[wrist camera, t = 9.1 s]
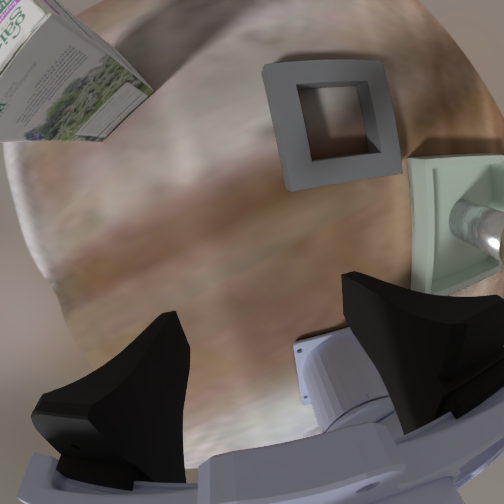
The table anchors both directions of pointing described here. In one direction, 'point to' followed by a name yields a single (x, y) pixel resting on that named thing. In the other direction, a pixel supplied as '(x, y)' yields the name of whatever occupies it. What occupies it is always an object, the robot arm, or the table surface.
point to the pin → (478, 227)
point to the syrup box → (60, 76)
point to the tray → (437, 218)
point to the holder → (294, 132)
